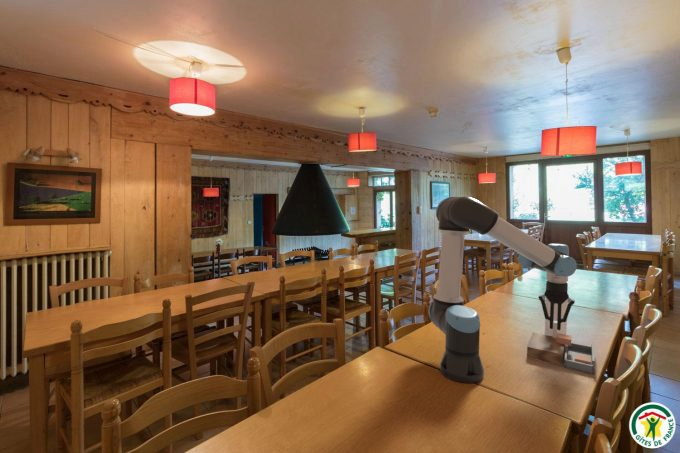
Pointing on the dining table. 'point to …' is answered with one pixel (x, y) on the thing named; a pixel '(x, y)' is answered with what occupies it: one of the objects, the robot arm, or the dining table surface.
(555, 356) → the brown flat block
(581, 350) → the tray
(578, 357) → the tile
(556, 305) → the milk
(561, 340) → the tile
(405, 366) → the dining table surface
